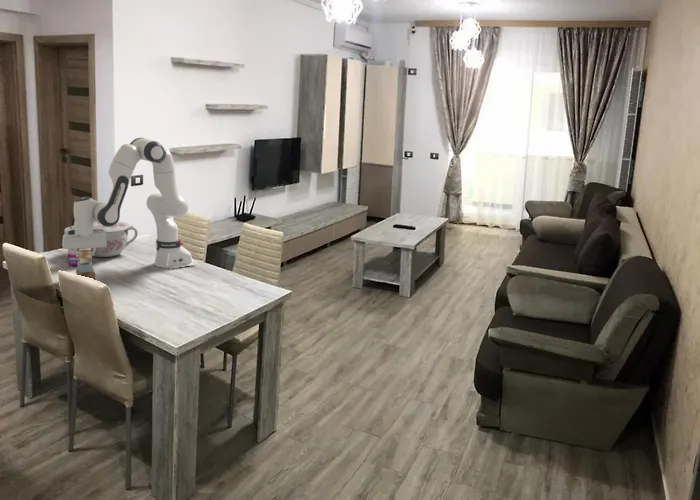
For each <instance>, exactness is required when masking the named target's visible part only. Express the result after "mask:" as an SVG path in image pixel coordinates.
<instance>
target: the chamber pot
mask: <svg viewBox="0 0 700 500" xmlns="http://www.w3.org/2000/svg"><path fill="white" fill-rule="evenodd" d="M94 229H103V231H104V230H106V232H107V236H106V237H105V238H106V244H107V245H106V247H99V248H96V251H95V253H94V256H93V257H96V258H113V257H115V256H116V257H117V256H119V255H120V254H121V253H122V252H123V250H125V249H126V247H128V246H129V245H130V244H132V243H133V242H134V241H135V240H136V239H137V238H138V229H137V228H136V227H135V226H134V225H131V226H130V224H129V223H127V222H123V221H118V222H117V223H116V224H115V225H114V226H111V227H106V226H103V225H102V224H101V223H100V222H98V221H94ZM131 230H132V231H134V235H133V237H132V238H131V239H130V240H128V235H129V231H131ZM91 252H93V248H91Z"/></svg>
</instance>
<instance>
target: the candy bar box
mask: <svg viewBox="0 0 700 500" xmlns="http://www.w3.org/2000/svg"><path fill="white" fill-rule="evenodd" d="M79 249H90V250H91V248H79ZM79 249H77V253H79ZM92 257H93V256H91V263H92V264H93V262H92V261H93V258H92ZM67 261H68V267H78V262H80V257H76V253H75V252H74V249H67Z"/></svg>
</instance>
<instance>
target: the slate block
mask: <svg viewBox="0 0 700 500" xmlns="http://www.w3.org/2000/svg"><path fill="white" fill-rule="evenodd" d="M92 268H93V262H92V263H80V262H78V266H77V269H78V271H79V273H84V272H92Z"/></svg>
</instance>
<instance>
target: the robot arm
mask: <svg viewBox="0 0 700 500" xmlns="http://www.w3.org/2000/svg"><path fill="white" fill-rule="evenodd" d="M172 155H173V154H172V153H171V152H170V150H167V149H165V148H164V146H163V145H162V144H161V143H160V142H158V141H155V140H153V139H151V138H145V137H137V138H135V139H133V140H132V141H131V142H130V143H125V144H122V145H121V146H120V147H119V149H118V150H117V151H116V154H114V157H113V159H112V161H111V163H110V165H109V169H108V176H109V178H110V180H111V182H112V190H111V192H110V196H109V198H108V201H107V203H105V202H103V201H98V200H95V198H94V199H93V198H92V197H90V196H79V197H78V198H76V199H75V200H74V201H73V218H74V223H73V225H71V226H69V227H65V228H64V234H63V235H62V243H61V245H62V246H61V247H62V248H63V250H68V249H74V252H75V253H76V257H80V256H79V255H80V254H79V253H77V249H79V248H93V252H91V256H92V257H95V256H94V253H95V251H96V248H99V247H106V245H107V244H106V238H105V237H106V236H107V232H106V230H104V231H103V229H94V221H98V222H100V223H101V224H102V225H103V226H106V227H111V226H114V225H115V224H116V223H117V222H118V221H119V220H120V216H121V207H122V204H123V203H124V199H125V196H126V193H127V191H128V187H129V184H130V180H131V178H132V175H133V173H134V170H135V169H136V166H137V164H138V162H139V161H141V160H142V161H148V162H151V163H152V173H153V181H154V183H153V184H154V186H155V187H156V189H157V190H158V191H159V192H160V193H151V194H150V195H149V196H148V197H147V199H146V207H147V209H148V211H150V212H151V214H152V216H153V219H154V222H155V225H156V226H155V228H156V239H155V249H156V254H155V259H154V263H153V264H154V266H155V267H158V268H164V269H168V268H169V269H168V270H173V269H172V268H174V269H180V268H179V267H182V268H186V267H185V266H190V267H195V266H197V262H196V259H193V257H192V253H191V252H190V251H189V250H188V249H186V248H185V247H184V245H185V244H184V241H182V240H180V239H179V236H178V235H179V234H178V232H179V231H178V230H179V227H178V224H177V223H176V222H175V220H174V219H173V218H183V217H184V216H185V217H186V215H187V214H188V211H189V203H188V202H187V200H185V199H184V197H183V196H182V194H181V192H180V190H179V187H178V185H177V178H176V169H175V163H174V158H173V156H172Z"/></svg>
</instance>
